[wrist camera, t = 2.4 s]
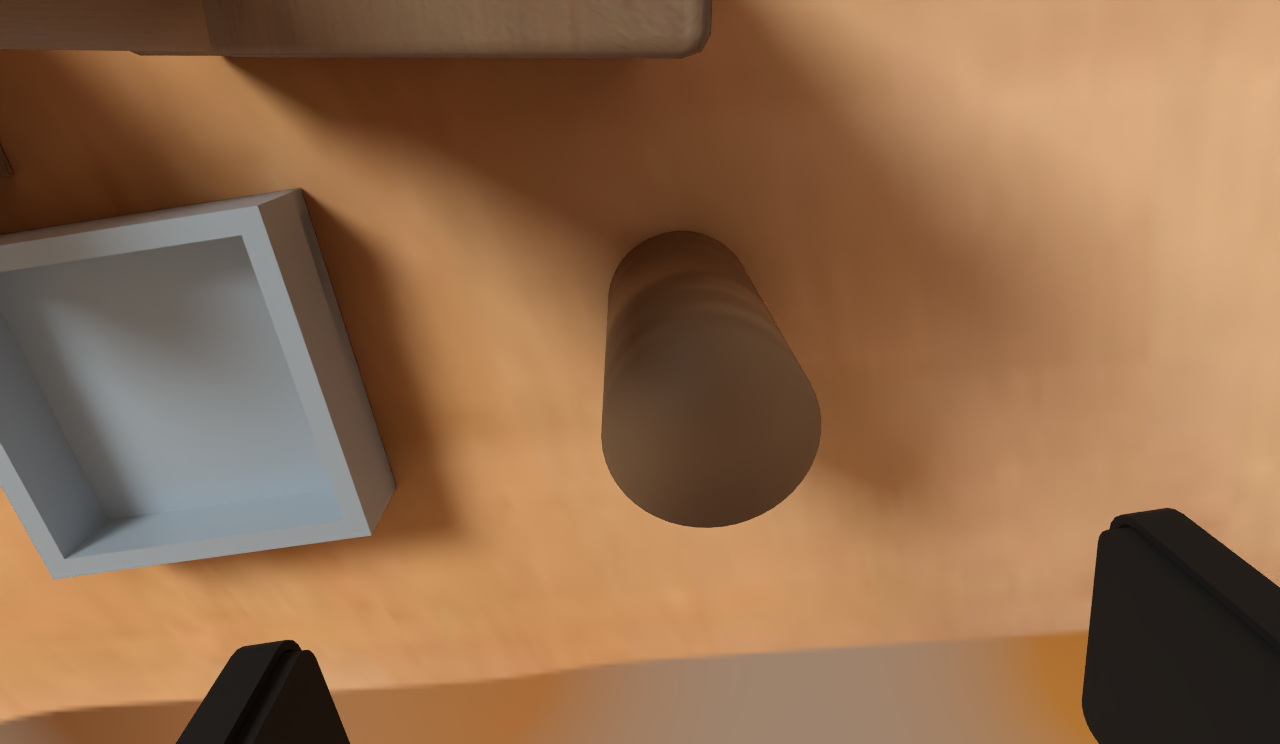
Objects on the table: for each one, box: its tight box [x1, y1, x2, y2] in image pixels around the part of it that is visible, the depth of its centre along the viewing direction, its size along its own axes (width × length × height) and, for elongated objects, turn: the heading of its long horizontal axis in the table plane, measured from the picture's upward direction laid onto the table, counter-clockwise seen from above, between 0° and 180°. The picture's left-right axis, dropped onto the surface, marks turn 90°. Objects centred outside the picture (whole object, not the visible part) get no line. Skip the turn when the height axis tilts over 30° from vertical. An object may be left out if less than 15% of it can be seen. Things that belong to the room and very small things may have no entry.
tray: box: [0, 188, 396, 579], centre depth 20 cm, size 9×9×2 cm
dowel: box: [601, 231, 821, 528], centre depth 17 cm, size 4×4×8 cm
